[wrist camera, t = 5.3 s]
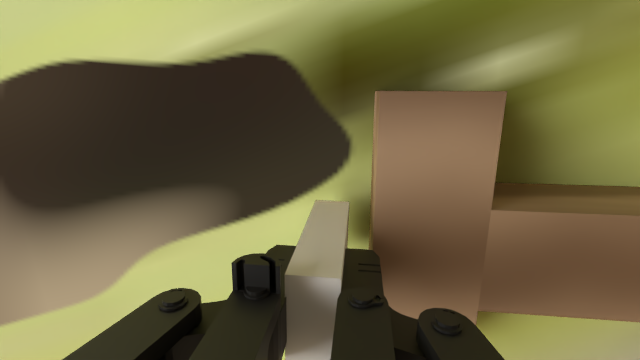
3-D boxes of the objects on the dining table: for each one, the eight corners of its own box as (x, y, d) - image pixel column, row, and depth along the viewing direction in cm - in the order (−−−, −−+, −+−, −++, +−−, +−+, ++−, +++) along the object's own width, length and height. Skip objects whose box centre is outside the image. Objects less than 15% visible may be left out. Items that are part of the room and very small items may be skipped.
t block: (375, 91, 15) (380, 91, 11) (674, 92, 14) (794, 92, 10) (365, 325, 18) (366, 387, 14) (611, 344, 17) (685, 418, 13)
